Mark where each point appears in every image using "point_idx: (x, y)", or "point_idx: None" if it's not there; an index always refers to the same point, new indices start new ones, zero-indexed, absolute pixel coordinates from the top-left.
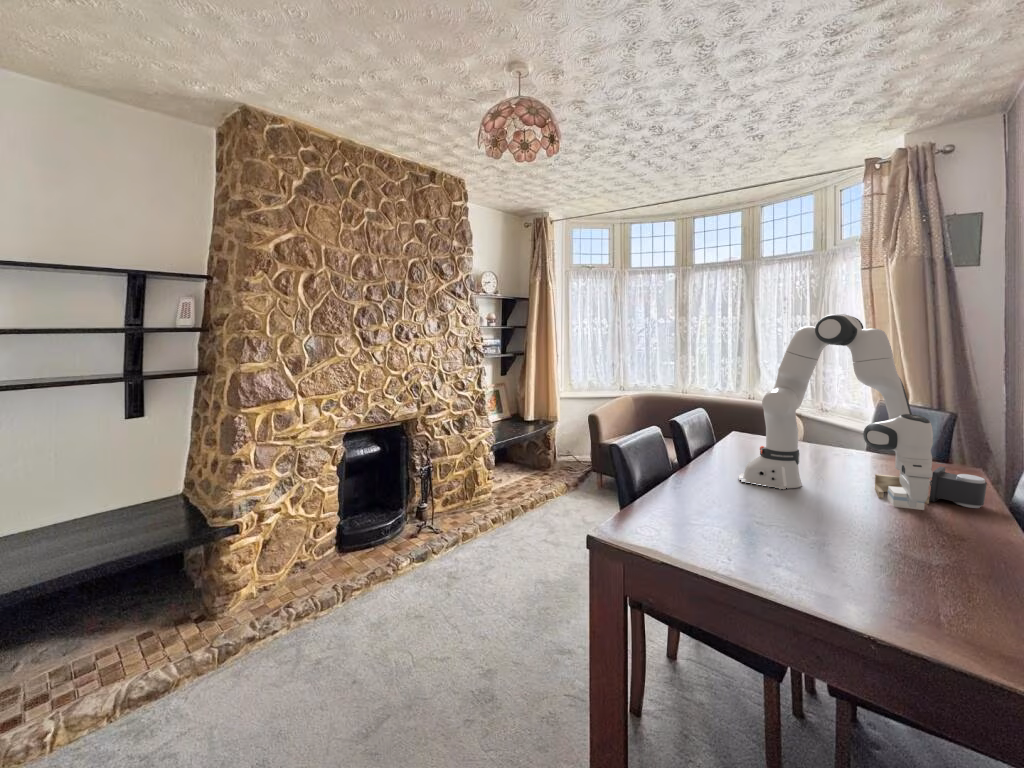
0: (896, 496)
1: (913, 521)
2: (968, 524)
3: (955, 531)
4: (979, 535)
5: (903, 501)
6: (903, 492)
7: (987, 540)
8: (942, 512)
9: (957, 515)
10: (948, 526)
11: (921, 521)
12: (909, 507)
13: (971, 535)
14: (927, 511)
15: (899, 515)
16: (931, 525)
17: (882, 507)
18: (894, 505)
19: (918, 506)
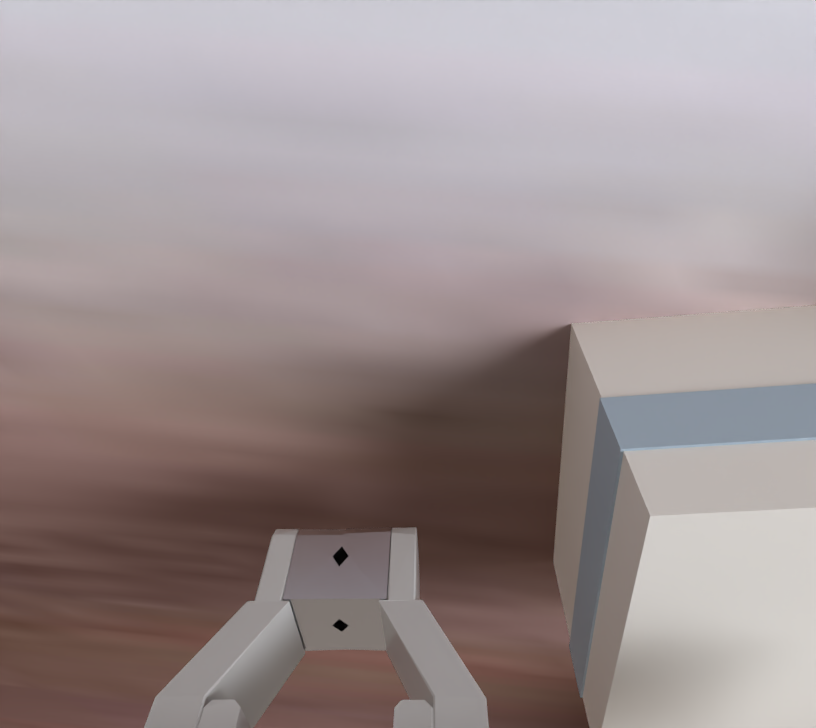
0: (620, 486)
1: (29, 448)
2: (294, 698)
3: (35, 635)
4: (77, 701)
5: (587, 493)
6: (733, 626)
7: (7, 710)
8: (535, 642)
9: (496, 689)
10: (133, 623)
11: (102, 503)
12: (565, 479)
13: (32, 678)
14: (513, 574)
15: (155, 351)
16: (42, 547)
17: (440, 170)
18: (576, 348)
19: (564, 561)
